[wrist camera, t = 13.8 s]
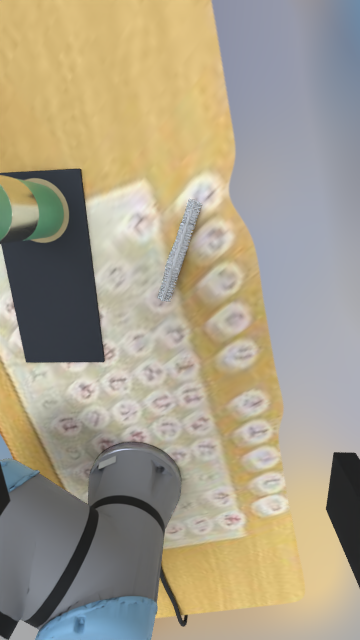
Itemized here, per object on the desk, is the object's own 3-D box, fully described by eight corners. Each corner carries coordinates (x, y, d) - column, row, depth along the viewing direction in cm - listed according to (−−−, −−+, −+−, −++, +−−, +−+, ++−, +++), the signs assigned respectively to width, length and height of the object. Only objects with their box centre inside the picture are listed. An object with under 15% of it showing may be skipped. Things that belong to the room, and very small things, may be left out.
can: (-11, 248, 25) (-32, 158, 23) (-87, 251, 26) (-114, 162, 24) (68, 237, 41) (60, 181, 38) (19, 239, 41) (8, 184, 39)
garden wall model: (189, 199, 39) (186, 196, 33) (202, 204, 39) (202, 201, 33) (161, 289, 42) (154, 299, 37) (173, 293, 42) (169, 304, 37)
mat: (104, 360, 46) (103, 362, 46) (27, 361, 47) (25, 362, 47) (80, 169, 38) (79, 168, 38) (-12, 174, 39) (-14, 173, 39)
